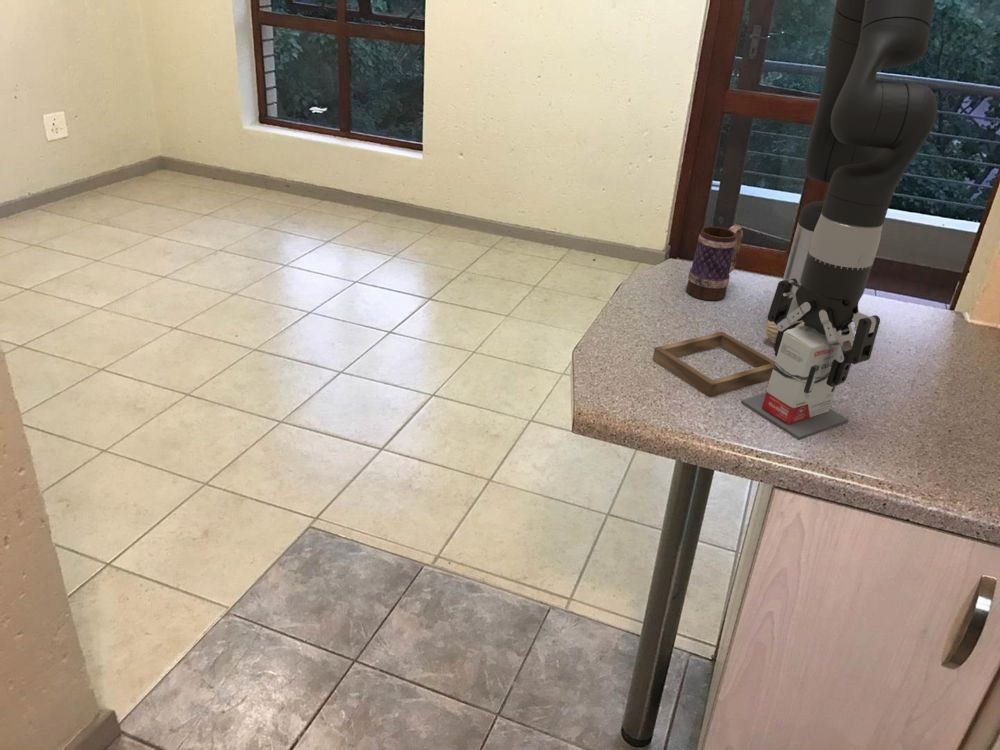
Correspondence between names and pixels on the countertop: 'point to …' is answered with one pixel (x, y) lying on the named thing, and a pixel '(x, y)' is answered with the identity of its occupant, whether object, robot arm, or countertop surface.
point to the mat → (800, 427)
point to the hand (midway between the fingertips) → (806, 369)
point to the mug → (714, 262)
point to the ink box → (801, 376)
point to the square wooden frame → (695, 378)
